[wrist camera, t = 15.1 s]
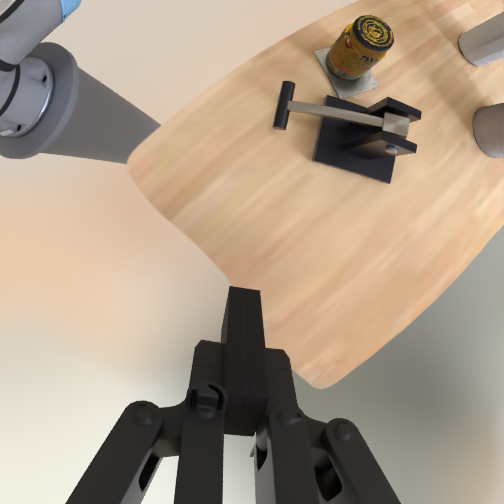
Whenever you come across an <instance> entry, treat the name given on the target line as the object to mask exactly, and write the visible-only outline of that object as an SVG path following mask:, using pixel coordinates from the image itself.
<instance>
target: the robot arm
mask: <svg viewBox="0 0 504 504" xmlns="http://www.w3.org/2000/svg"><path fill="white" fill-rule="evenodd" d="M80 3H81V0H0V134H1V135H2V136H5V137H11V138H19V137H22V136H25V135H27V134H28V133H30V132H31V131H32V130H33V129H35V128H36V127H37V126H38V124H39V123H40V122H41V121H42V119H43V118H44V116H45V115H46V113H47V111H48V109H49V107H50V105H51V102H52V99H53V96H54V92H55V74H54V70H53V68H52V67H51V65H50V64H49V63H47V62H46V61H44V60H42V59H40V58H35V57H26V56H27V55H28V54H29V53H30V52H31V51H32V50H33V49H34V48H35V47H36V46H37V45H38V44H39V43H40V42H41V41H42V40H43V39H44V38H45V37H46V36H48V35H49V34H50V33H51V32H52V31H53V30H54V29H55V28H56V27H57V26H59V25H60V24H61V23H63V22H64V21H65V19H66V18H67V17H68V16H69V15H70V14H71V13H72V12H73V11H75V9H77V7H78V6H79V4H80ZM255 432H256V443H255V444H254V447H253V449H252V451H251V454H250V457H253V455H254V469H255V494H256V504H401V503H400V501H399V499H398V498H397V496H396V494H395V492H394V491H393V489H392V487H391V486H390V484H389V482H388V480H387V479H386V477H385V475H384V473H383V472H382V470H381V468H380V466H379V465H378V463H377V461H376V460H375V458H374V456H373V454H372V453H371V451H370V449H369V447H368V446H367V444H366V442H365V440H364V439H363V437H362V435H361V434H360V432H359V430H358V428H357V427H356V426H355V425H354V424H353V423H352V422H351V421H349V420H347V419H343V418H336V419H333V420H331V421H329V423H324V422H321V421H317V420H314V419H311V418H309V417H307V416H306V415H304V413H303V411H302V410H301V409H300V408H299V407H298V404H297V399H296V393H295V388H294V382H293V377H292V370H291V364H290V359H289V357H288V356H287V354H286V353H285V351H284V350H281V349H272V348H265V338H264V328H263V317H262V307H261V297H260V291H259V290H252V289H246V288H239V287H233V286H230V287H229V293H228V298H227V303H226V308H225V314H224V319H223V325H222V331H221V343H219V342H212V341H206V340H201V341H200V342H199V343H198V345H197V346H196V347H195V351H194V358H193V364H192V370H191V377H190V383H189V388H188V391H187V395H186V398H185V400H184V401H183V402H181V403H180V404H178V405H176V406H172V407H164V408H159V407H158V406H157V405H155V404H153V403H152V402H148V401H136V402H133V403H131V404H129V405H128V406H127V407H126V408H125V410H124V412H123V413H122V415H121V416H120V418H119V419H118V421H117V422H116V424H115V426H114V427H113V429H112V430H111V432H110V433H109V435H108V436H107V438H106V440H105V441H104V443H103V444H102V446H101V447H100V449H99V451H98V452H97V454H96V455H95V457H94V459H93V460H92V462H91V463H90V465H89V466H88V468H87V470H86V471H85V473H84V474H83V476H82V478H81V479H80V481H79V482H78V484H77V486H76V487H75V489H74V491H73V492H72V494H71V496H70V497H69V499H68V500H67V502H66V503H65V504H141V502H142V500H143V498H144V496H145V494H146V492H147V489H148V487H149V485H150V483H151V481H152V479H153V477H154V475H155V473H156V471H157V469H158V467H159V465H160V463H161V461H162V459H163V457H171V456H179V460H178V470H177V477H176V486H175V497H174V504H222V499H223V497H222V496H223V445H224V434H229V435H240V436H254V434H255Z"/></svg>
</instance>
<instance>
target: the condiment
mask: <svg viewBox="0 0 504 504" xmlns="http://www.w3.org/2000/svg"><path fill="white" fill-rule="evenodd" d="M393 43H394V37H393V33H392V31H391V29H390V27H389V26H388V25H387V24H386V23H385V22H384V21H383V20H381V19H380V18H377V17H375V16H371V15H367V16H360V17H359V18H357V19H356V20H355V22H354V23H352V24H350V25H348V26H347V27H346V28H345V29H344V31H343V32H342V34H341V35H340V37H339V38H338V39H337V40H336V42H335V43H334V45H333V46H332V47H328V48H324V49H321V50H317V51H314V53H315V55H316V56H317V58H318V60H319V62H320V63H321V65H322V67H323V69H324V70H325V72H326V74H327V76H328V77H329V79H330V80H331V83H332V84H333V86H334V88H335V90H336V92H337V93H338V95H339V97H340V99H343V98H346V97H349V96H352V95H355V94H358V93H361V92H364V91H366V90H370V89H373V88H376V87H379V85H378V83H377V81H376V79H375V77H374V75H373V74H372V72H371V70H370V68H371V67H372V66H374V65H375V64H376V63H377V62H379V61H380V60H381V59H382V58H383V57H384V56H385V55H386V53H387V50H388V49H390V48H391V46H392V44H393Z"/></svg>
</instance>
